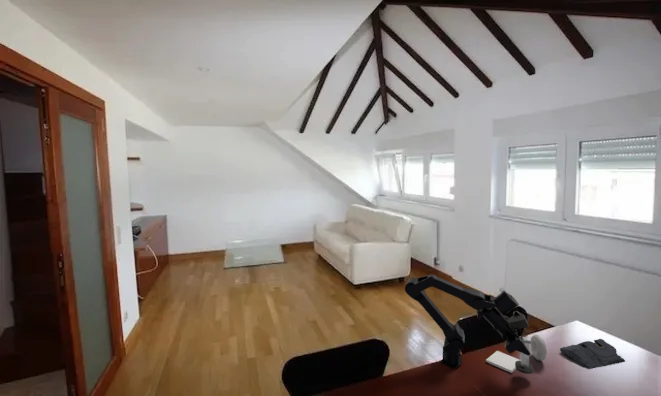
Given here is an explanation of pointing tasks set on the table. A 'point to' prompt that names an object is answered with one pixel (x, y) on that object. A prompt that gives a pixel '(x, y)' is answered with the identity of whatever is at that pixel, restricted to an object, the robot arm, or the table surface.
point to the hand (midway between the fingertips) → (529, 352)
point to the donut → (538, 347)
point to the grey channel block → (524, 359)
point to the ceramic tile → (503, 361)
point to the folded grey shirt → (593, 354)
